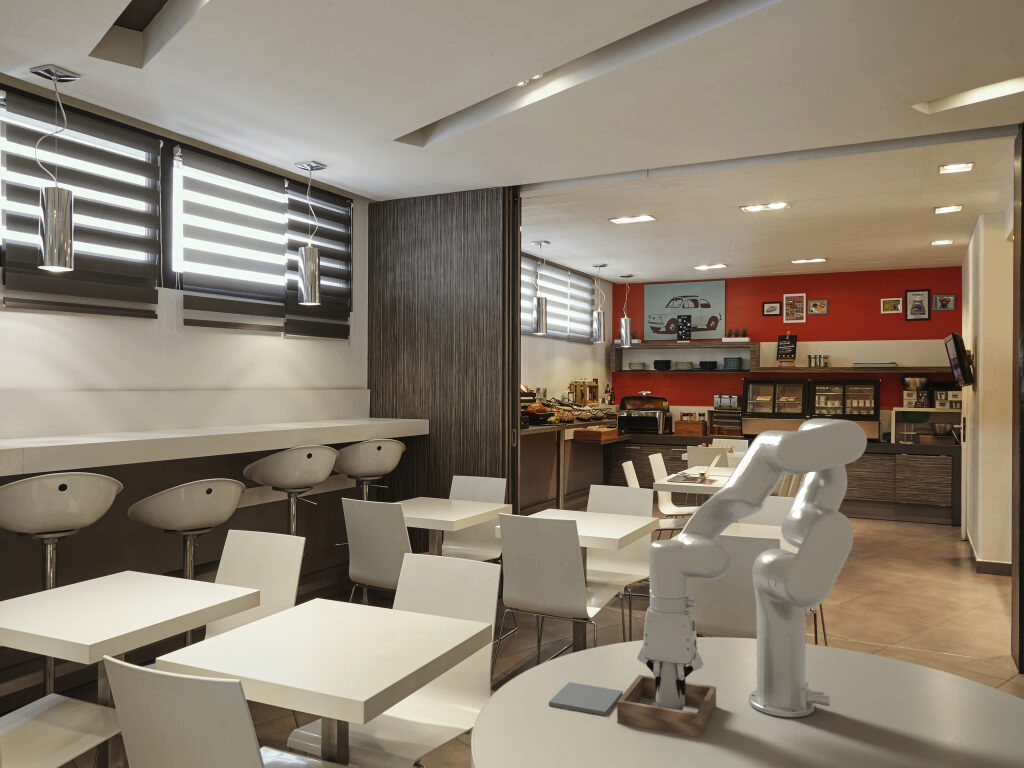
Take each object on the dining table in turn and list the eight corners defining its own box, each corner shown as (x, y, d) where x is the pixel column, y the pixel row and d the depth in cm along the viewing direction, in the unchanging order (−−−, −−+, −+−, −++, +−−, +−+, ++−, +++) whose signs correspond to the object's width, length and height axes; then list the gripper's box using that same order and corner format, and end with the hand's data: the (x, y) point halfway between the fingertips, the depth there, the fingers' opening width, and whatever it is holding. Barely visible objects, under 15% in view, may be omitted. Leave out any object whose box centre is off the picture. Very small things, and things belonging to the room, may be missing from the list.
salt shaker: (685, 718, 151) (684, 651, 151) (655, 716, 152) (654, 650, 152) (685, 706, 157) (683, 642, 157) (656, 705, 158) (655, 640, 158)
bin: (716, 706, 158) (716, 686, 159) (701, 737, 144) (701, 715, 144) (639, 693, 165) (639, 674, 165) (617, 722, 150) (617, 701, 151)
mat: (622, 694, 164) (622, 690, 164) (605, 715, 154) (605, 711, 154) (569, 685, 169) (569, 682, 169) (548, 705, 158) (548, 701, 158)
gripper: (714, 602, 155) (715, 695, 155) (634, 595, 162) (635, 684, 161) (707, 612, 148) (708, 710, 148) (623, 604, 155) (625, 697, 155)
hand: (670, 695), depth 155 cm, fingers closed on salt shaker, 3 cm apart
